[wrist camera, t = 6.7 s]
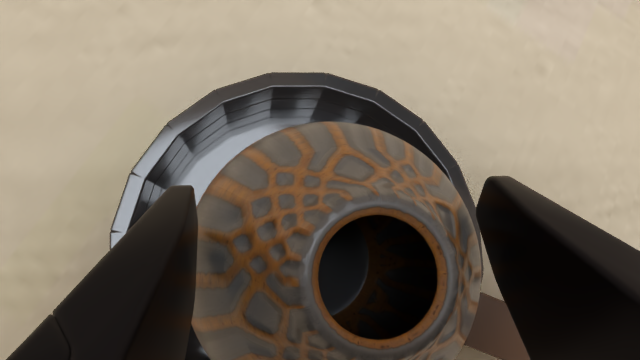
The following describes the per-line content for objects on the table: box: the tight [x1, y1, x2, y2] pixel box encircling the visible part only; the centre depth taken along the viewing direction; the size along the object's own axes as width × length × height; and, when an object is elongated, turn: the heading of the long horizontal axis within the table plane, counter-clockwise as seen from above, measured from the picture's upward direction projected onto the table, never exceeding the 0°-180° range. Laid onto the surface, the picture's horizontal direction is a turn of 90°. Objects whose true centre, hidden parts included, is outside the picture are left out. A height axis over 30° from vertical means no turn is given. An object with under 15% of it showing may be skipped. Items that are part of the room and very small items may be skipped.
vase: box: [191, 122, 481, 360], centre depth 11 cm, size 7×7×9 cm
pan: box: [110, 72, 483, 360], centre depth 18 cm, size 13×13×3 cm
